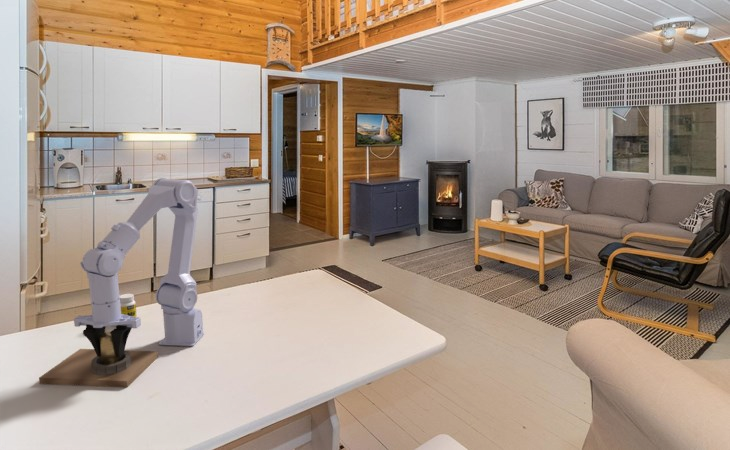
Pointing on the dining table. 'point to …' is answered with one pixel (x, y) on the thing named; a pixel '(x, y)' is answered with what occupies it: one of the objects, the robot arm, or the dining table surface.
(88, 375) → the jig board
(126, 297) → the supplement bottle
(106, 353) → the cylinder
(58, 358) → the dining table surface
